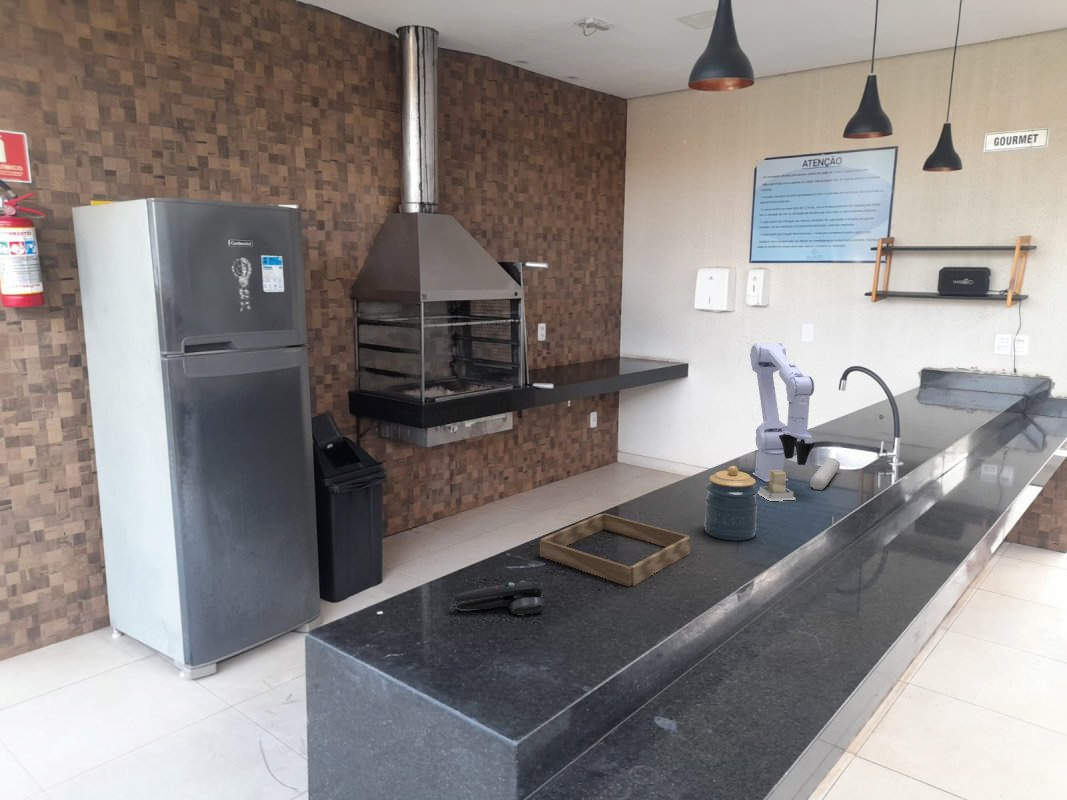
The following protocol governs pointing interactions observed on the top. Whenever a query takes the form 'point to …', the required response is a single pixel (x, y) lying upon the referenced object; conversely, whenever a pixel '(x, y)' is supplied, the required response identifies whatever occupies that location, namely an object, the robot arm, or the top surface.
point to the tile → (775, 499)
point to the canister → (731, 505)
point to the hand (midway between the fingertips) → (794, 461)
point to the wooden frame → (613, 571)
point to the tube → (824, 474)
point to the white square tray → (768, 494)
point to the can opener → (505, 597)
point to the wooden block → (777, 481)
